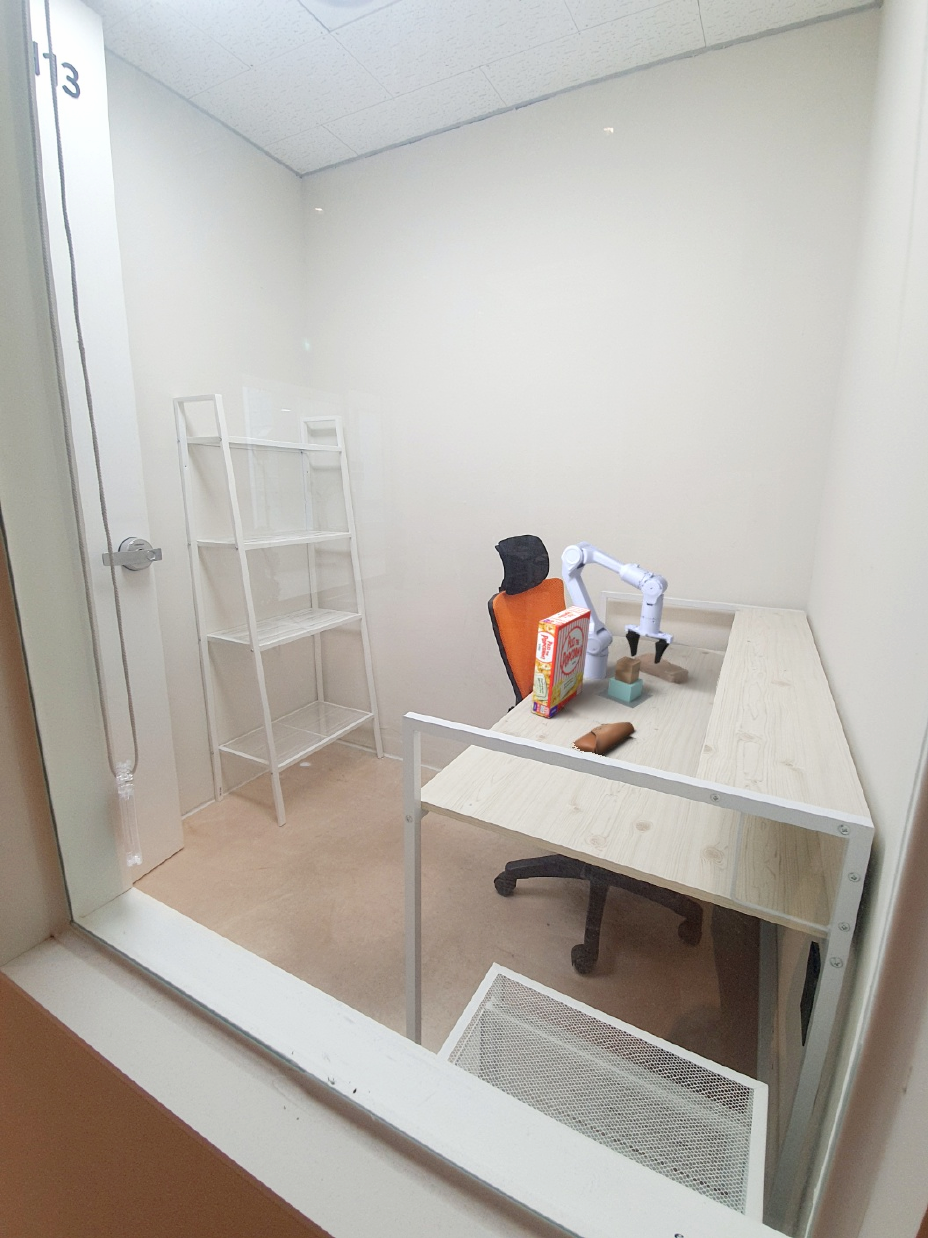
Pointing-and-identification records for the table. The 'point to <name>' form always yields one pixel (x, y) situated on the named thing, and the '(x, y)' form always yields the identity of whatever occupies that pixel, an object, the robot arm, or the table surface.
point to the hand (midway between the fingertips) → (645, 659)
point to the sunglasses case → (604, 737)
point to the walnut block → (627, 670)
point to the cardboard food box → (560, 660)
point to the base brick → (625, 689)
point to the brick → (662, 669)
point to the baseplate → (630, 704)
